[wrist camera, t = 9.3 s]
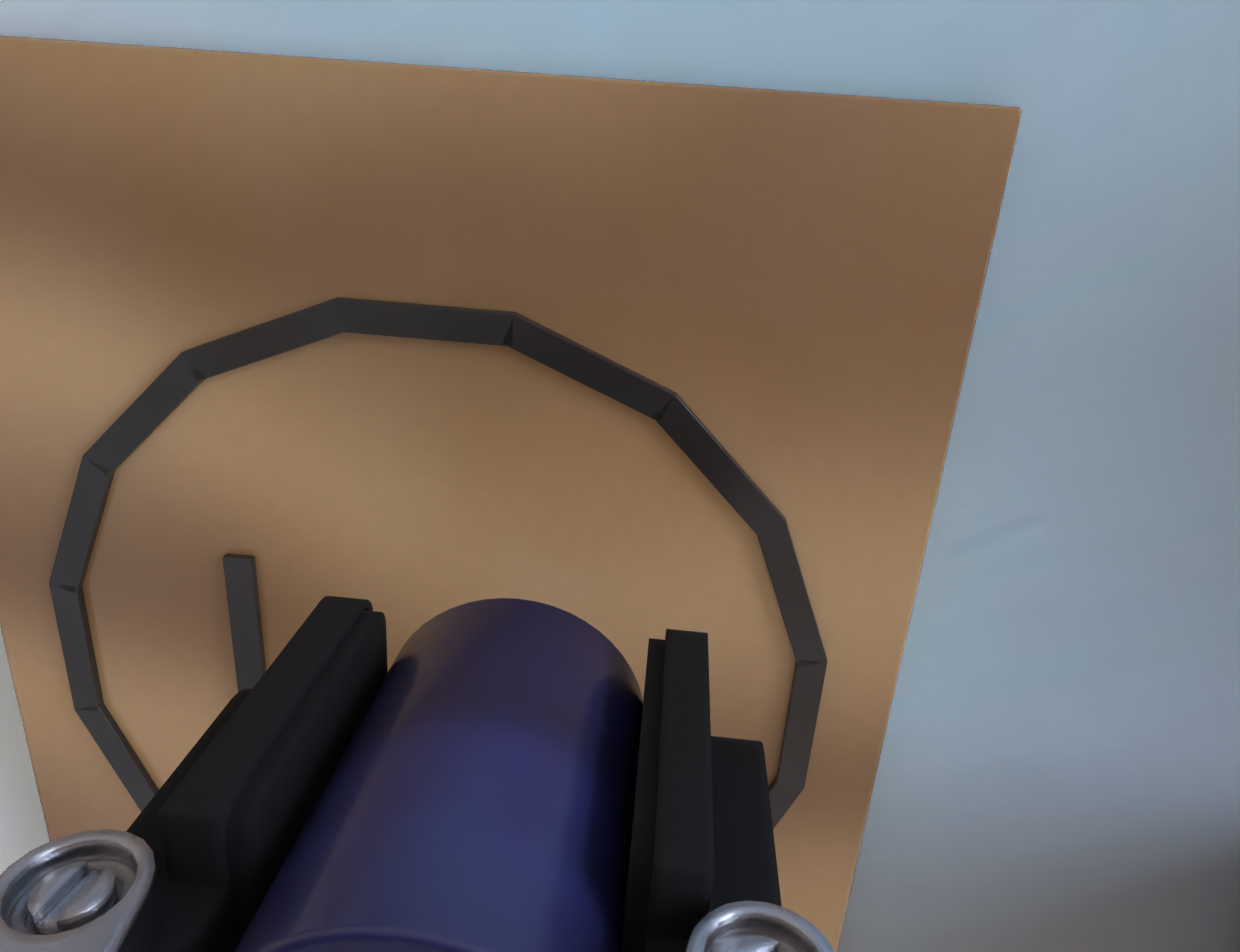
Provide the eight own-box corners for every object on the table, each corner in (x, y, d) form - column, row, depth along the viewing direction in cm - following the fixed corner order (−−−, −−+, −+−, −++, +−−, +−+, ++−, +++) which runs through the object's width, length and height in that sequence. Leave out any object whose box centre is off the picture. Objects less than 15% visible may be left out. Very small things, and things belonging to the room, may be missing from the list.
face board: (-105, 29, 13) (-151, 24, 12) (1009, 107, 12) (1028, 107, 12) (105, 992, 21) (84, 1023, 20) (801, 1078, 20) (804, 1113, 19)
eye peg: (384, 582, 11) (170, 906, 7) (655, 609, 11) (628, 959, 6) (392, 797, 13) (217, 1195, 8) (634, 823, 12) (600, 1246, 8)
